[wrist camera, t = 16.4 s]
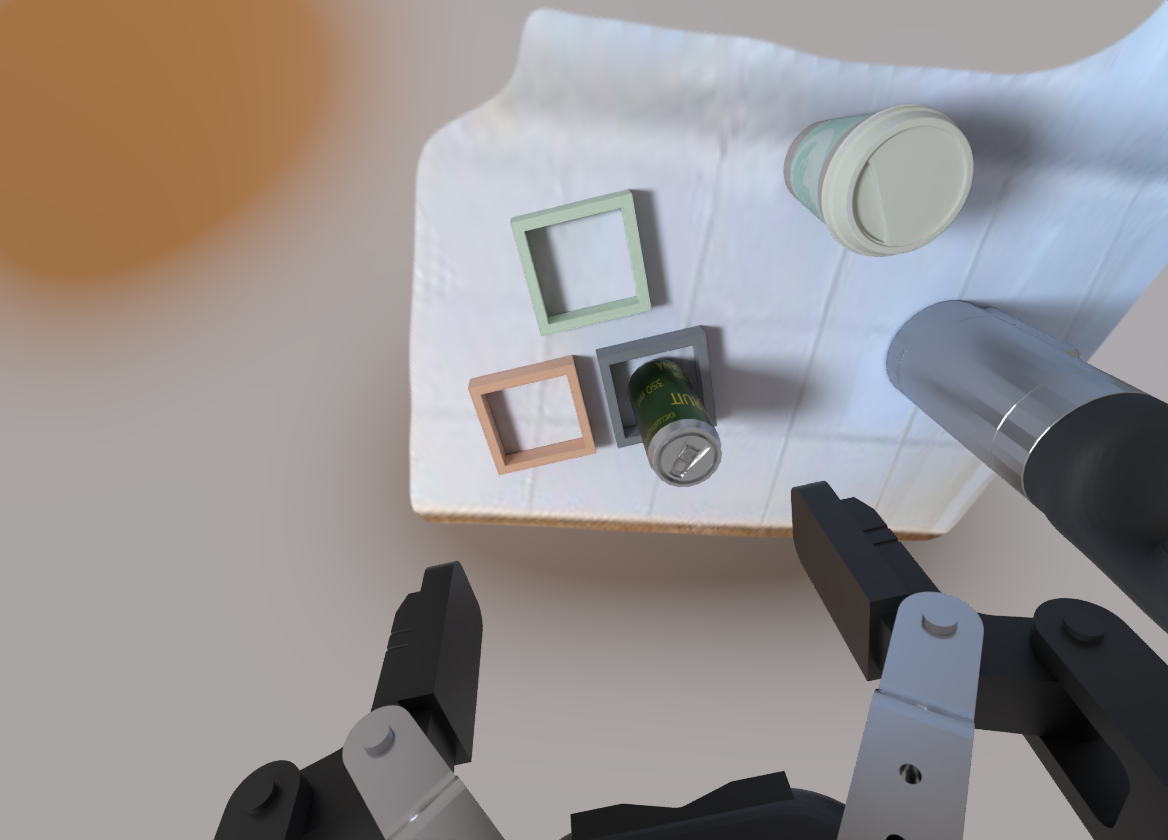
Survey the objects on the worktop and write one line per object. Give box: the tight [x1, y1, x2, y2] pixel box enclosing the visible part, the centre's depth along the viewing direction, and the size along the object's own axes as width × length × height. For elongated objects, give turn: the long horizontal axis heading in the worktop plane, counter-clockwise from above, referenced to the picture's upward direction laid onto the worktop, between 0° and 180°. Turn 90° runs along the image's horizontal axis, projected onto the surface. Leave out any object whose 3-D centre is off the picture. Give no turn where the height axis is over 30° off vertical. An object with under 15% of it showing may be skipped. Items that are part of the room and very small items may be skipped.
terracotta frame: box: [468, 355, 596, 475], centre depth 53 cm, size 9×9×2 cm
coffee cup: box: [784, 104, 974, 257], centre depth 40 cm, size 8×9×12 cm
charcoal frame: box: [596, 326, 717, 448], centre depth 52 cm, size 9×9×2 cm
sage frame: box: [510, 189, 651, 336], centre depth 46 cm, size 9×9×2 cm
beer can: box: [628, 359, 722, 487], centre depth 48 cm, size 5×5×12 cm
